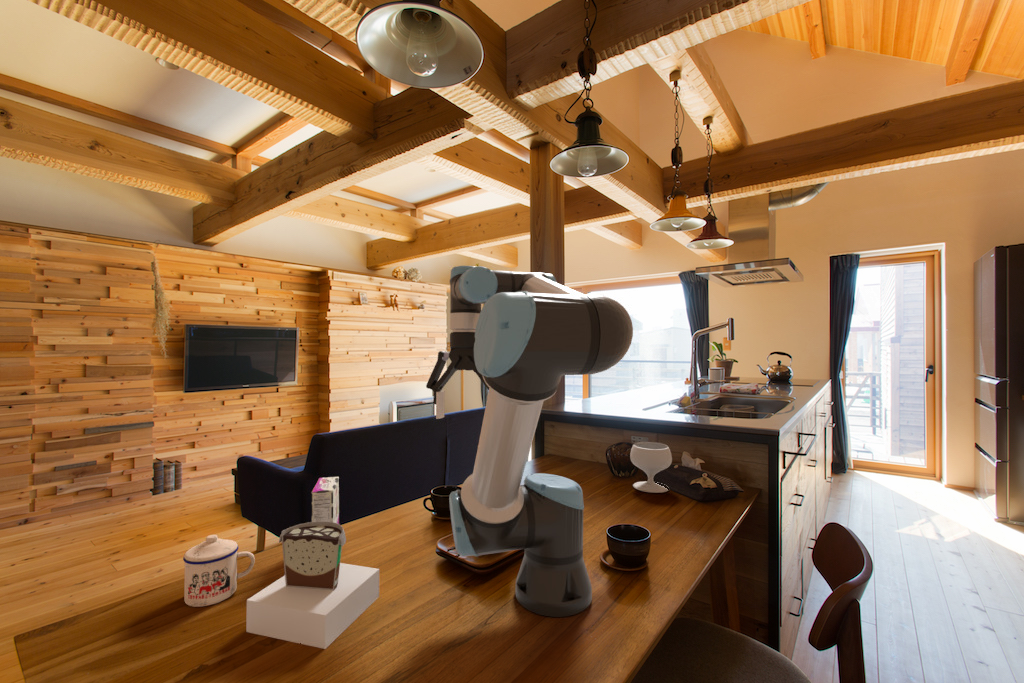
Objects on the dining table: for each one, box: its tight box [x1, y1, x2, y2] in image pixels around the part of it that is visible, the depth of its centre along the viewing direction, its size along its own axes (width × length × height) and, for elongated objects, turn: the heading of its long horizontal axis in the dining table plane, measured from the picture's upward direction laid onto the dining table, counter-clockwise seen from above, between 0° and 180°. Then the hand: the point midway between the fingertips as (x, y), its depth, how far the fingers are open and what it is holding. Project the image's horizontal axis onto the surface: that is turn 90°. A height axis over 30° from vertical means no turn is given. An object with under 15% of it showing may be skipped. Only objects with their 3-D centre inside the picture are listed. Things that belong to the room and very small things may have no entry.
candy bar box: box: [311, 476, 340, 524], centre depth 109 cm, size 11×5×16 cm, turn 14°
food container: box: [278, 521, 347, 591], centre depth 85 cm, size 12×6×10 cm, turn 83°
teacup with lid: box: [182, 534, 256, 608], centre depth 90 cm, size 12×9×12 cm
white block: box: [245, 562, 380, 650], centre depth 84 cm, size 16×16×6 cm
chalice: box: [629, 441, 673, 494], centre depth 159 cm, size 14×14×15 cm
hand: (465, 420), depth 109 cm, fingers open, 13 cm apart
